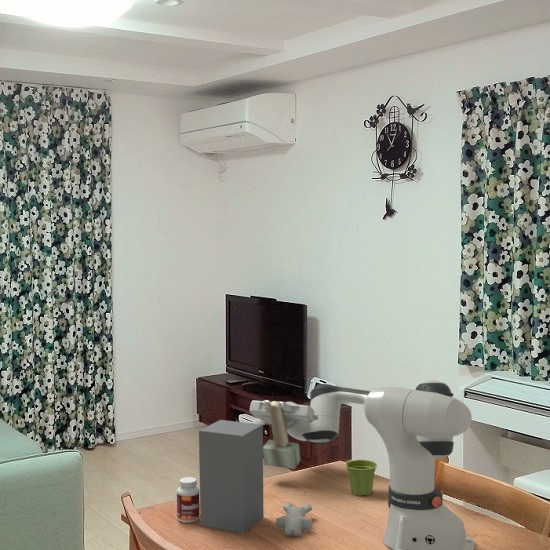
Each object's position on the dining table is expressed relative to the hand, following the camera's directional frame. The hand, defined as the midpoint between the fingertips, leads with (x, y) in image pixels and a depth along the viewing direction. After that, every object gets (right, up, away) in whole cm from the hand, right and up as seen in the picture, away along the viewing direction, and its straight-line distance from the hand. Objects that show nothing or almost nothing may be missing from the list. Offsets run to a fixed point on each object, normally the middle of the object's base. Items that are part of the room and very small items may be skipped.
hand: (273, 403), depth 239 cm
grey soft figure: (+6, -29, -27) cm, 40 cm away
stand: (-11, -28, -23) cm, 38 cm away
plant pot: (+26, -27, -1) cm, 37 cm away
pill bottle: (-23, -29, -20) cm, 42 cm away
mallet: (+3, -9, +7) cm, 12 cm away
